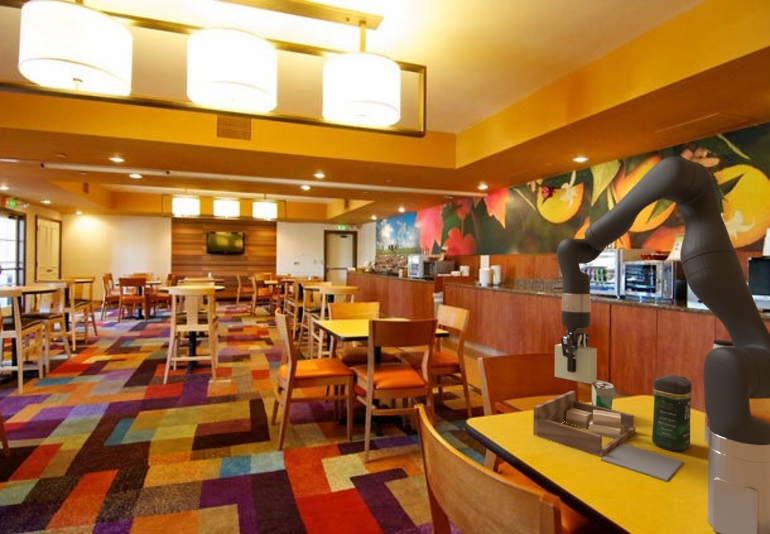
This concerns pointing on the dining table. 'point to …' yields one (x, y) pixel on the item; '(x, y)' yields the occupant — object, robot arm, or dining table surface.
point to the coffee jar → (672, 412)
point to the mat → (643, 461)
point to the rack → (551, 428)
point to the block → (577, 365)
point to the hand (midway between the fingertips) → (575, 370)
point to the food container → (602, 394)
